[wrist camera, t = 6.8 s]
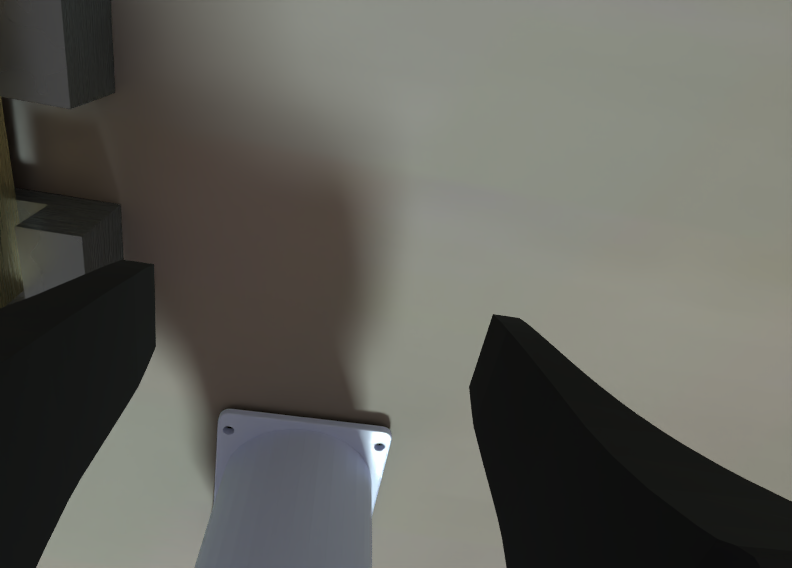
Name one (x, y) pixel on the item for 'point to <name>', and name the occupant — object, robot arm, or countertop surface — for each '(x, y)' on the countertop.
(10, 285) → the link bar
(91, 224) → the chain end
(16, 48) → the chain end
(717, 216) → the countertop surface
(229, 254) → the countertop surface
